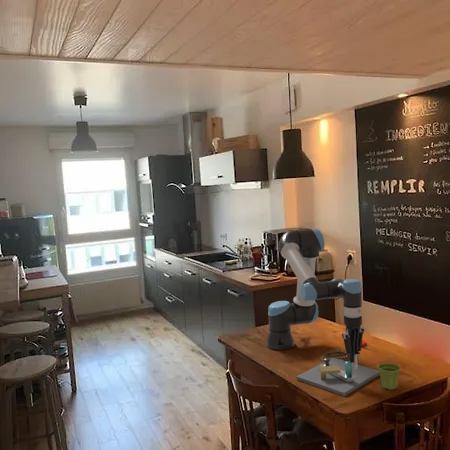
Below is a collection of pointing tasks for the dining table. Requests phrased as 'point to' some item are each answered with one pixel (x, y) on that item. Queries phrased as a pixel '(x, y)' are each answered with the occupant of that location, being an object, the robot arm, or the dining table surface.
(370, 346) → the dining table surface
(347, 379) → the lever
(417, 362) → the dining table surface
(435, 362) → the dining table surface
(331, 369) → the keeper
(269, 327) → the robot arm
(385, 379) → the plant pot
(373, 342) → the dining table surface
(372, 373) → the base plate
